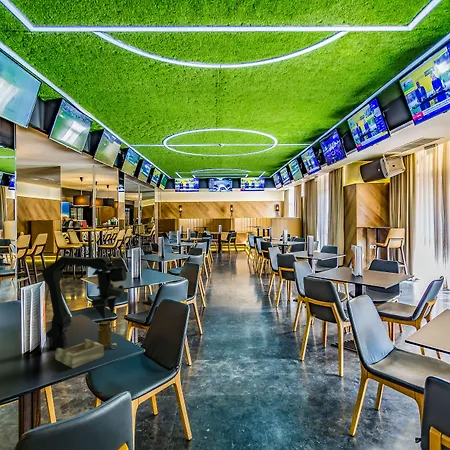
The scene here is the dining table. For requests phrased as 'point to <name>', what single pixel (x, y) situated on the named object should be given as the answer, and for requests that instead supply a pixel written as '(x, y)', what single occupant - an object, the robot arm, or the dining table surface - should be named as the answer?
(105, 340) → the condiment
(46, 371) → the dining table surface
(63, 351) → the tan square tray
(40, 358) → the dining table surface
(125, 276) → the robot arm
